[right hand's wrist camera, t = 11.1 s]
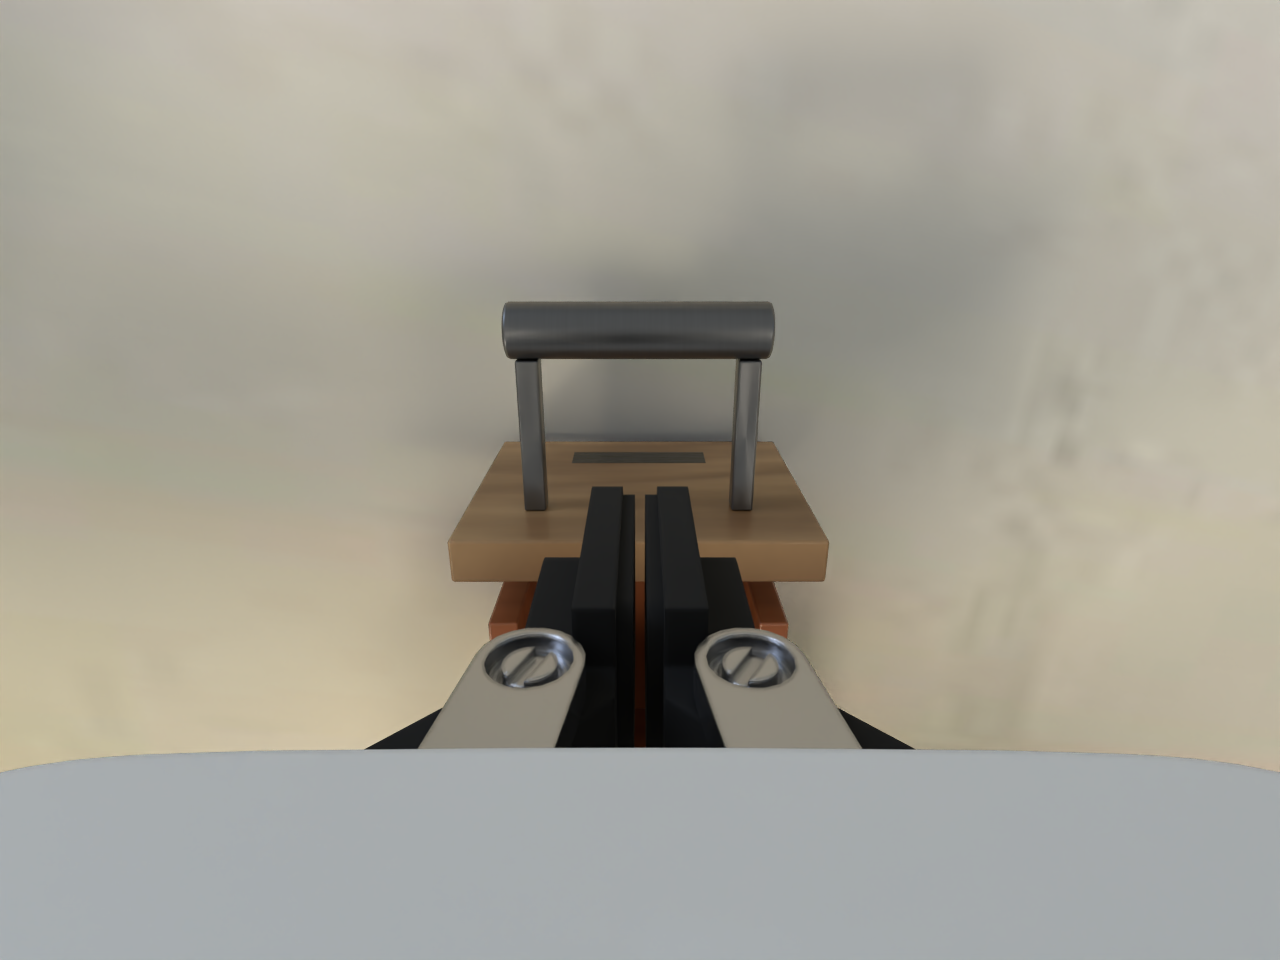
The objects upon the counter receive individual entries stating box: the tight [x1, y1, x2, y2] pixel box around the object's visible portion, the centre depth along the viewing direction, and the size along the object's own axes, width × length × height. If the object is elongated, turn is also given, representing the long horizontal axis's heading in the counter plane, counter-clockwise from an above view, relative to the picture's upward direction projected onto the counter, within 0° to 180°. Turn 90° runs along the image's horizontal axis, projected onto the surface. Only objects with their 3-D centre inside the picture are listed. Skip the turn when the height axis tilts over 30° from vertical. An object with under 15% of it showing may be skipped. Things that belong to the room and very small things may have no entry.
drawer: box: [448, 302, 829, 748], centre depth 22 cm, size 17×10×8 cm, turn 0°
